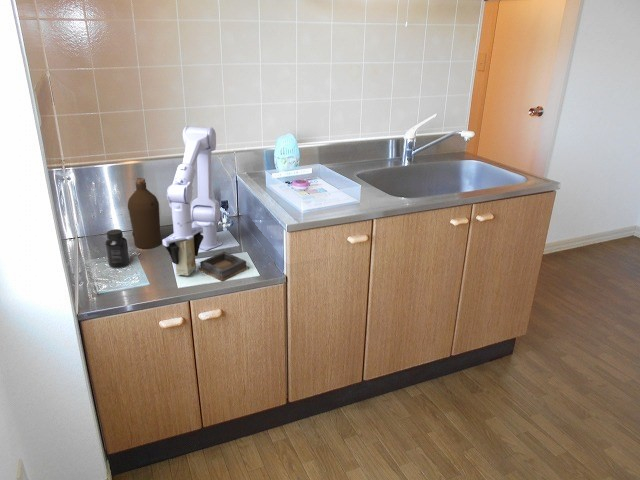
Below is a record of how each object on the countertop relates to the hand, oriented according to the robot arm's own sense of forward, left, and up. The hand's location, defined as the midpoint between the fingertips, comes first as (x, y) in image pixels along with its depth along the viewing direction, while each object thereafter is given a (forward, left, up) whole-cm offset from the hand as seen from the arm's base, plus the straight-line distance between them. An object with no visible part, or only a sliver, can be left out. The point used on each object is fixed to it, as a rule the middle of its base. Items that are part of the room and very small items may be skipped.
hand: (185, 259), depth 163 cm
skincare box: (0, 0, -5) cm, 5 cm away
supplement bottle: (-22, -11, -5) cm, 25 cm away
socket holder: (+7, +10, -5) cm, 13 cm away
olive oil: (-29, +5, -5) cm, 30 cm away
